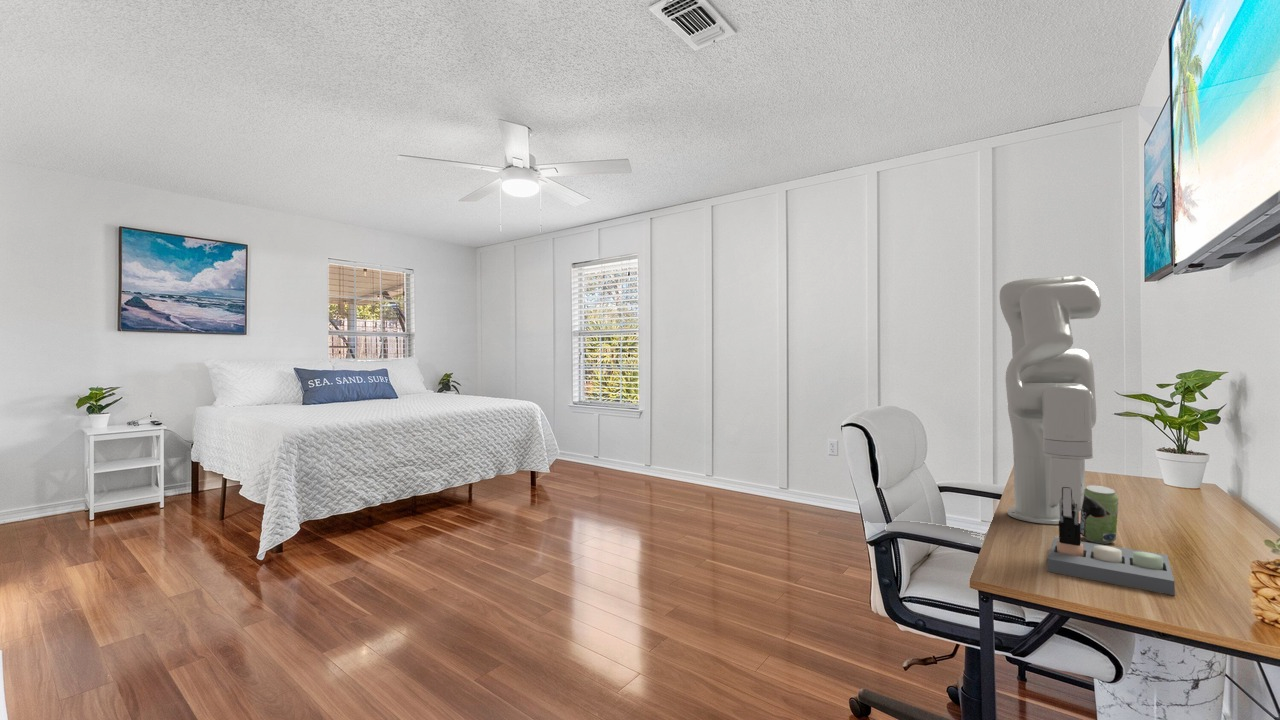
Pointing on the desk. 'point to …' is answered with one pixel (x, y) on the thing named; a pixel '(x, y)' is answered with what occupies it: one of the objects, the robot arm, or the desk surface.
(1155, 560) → the sage button
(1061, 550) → the terracotta button
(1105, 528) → the beverage can
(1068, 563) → the panel
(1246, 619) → the desk surface
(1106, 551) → the cream button
